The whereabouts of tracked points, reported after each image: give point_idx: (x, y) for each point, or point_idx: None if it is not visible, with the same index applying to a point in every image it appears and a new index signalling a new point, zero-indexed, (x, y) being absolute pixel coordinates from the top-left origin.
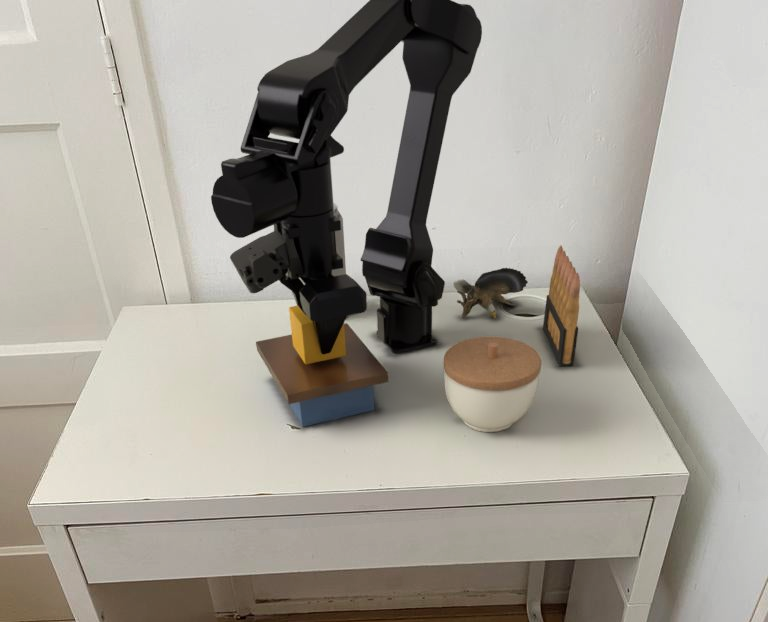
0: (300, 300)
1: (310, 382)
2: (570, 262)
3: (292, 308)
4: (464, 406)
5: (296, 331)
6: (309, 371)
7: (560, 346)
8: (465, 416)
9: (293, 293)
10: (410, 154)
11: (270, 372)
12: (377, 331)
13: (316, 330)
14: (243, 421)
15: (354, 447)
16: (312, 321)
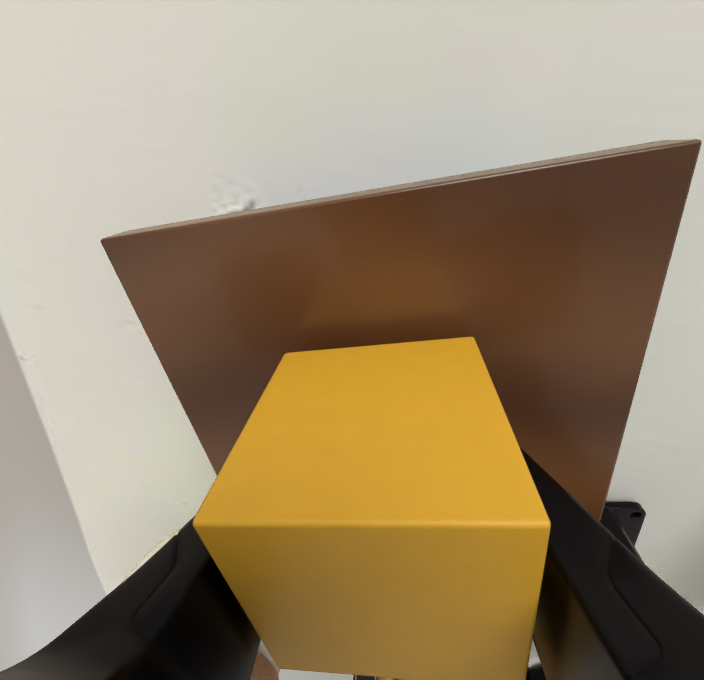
0: (578, 625)
1: (197, 337)
2: None
3: (500, 540)
4: (141, 563)
5: (364, 424)
6: (277, 349)
7: (364, 677)
8: (162, 541)
9: (701, 675)
10: None
11: (381, 188)
12: (639, 510)
13: (161, 549)
14: (291, 35)
15: (144, 343)
16: (177, 592)
